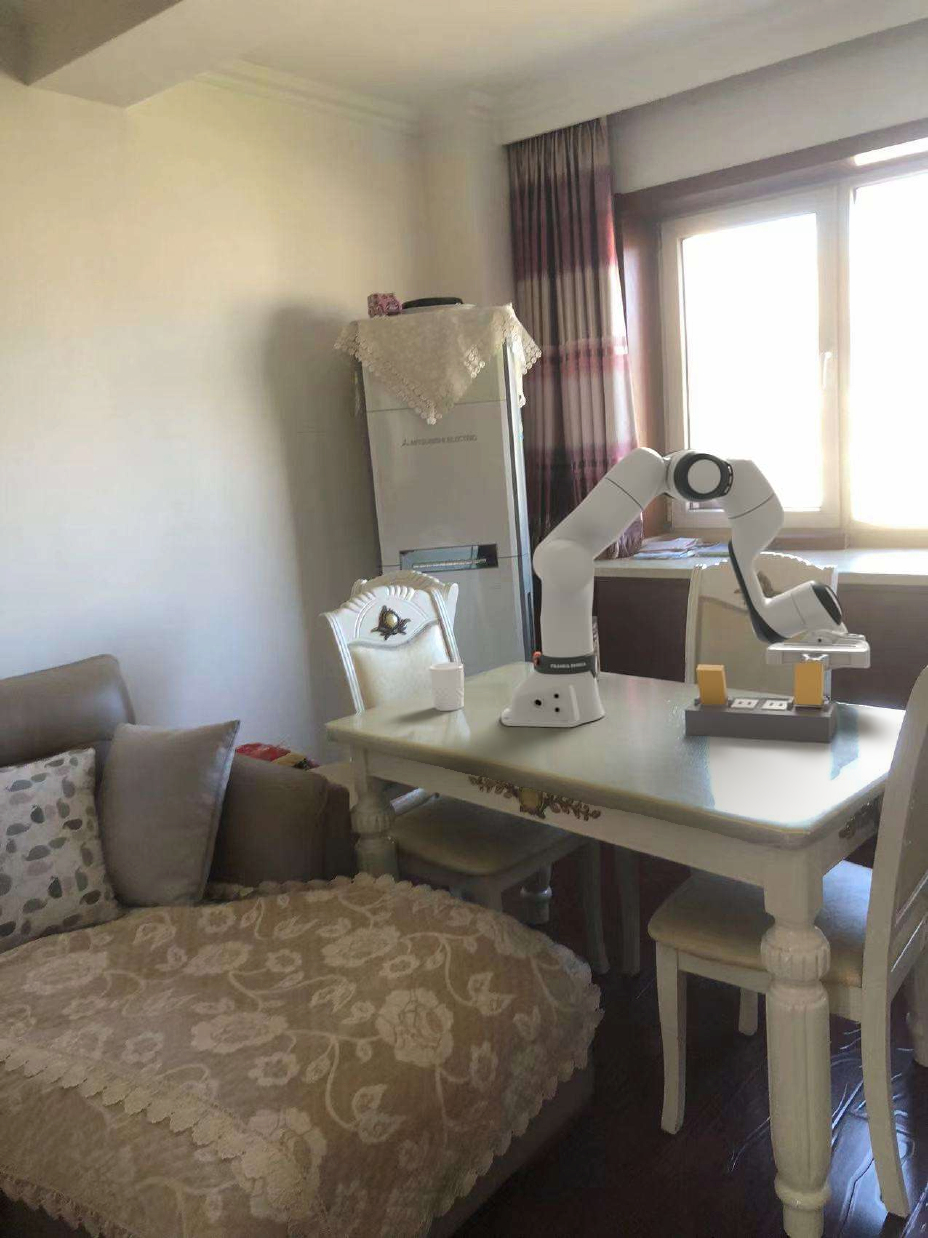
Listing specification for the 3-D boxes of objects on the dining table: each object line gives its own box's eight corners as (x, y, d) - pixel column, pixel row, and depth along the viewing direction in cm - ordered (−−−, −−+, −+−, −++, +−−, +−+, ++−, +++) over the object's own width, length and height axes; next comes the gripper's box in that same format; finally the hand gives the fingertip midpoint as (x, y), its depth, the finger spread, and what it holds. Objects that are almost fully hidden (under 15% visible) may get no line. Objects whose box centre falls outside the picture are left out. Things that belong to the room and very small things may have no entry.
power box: (685, 734, 197) (684, 704, 196) (700, 718, 208) (699, 689, 207) (829, 743, 185) (829, 710, 184) (837, 725, 196) (836, 694, 195)
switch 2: (793, 704, 192) (795, 662, 193) (795, 704, 194) (796, 664, 195) (821, 705, 190) (822, 663, 191) (822, 706, 191) (823, 664, 193)
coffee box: (594, 687, 241) (590, 622, 238) (568, 687, 243) (564, 622, 240) (601, 678, 249) (598, 615, 247) (576, 678, 251) (572, 615, 249)
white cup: (430, 712, 229) (426, 670, 228) (435, 703, 237) (432, 663, 235) (464, 711, 228) (461, 668, 227) (468, 702, 236) (465, 661, 234)
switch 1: (700, 703, 200) (696, 669, 197) (703, 697, 202) (698, 664, 198) (726, 704, 198) (721, 670, 194) (727, 698, 199) (723, 665, 196)
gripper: (770, 633, 214) (758, 646, 202) (873, 635, 205) (867, 649, 193) (771, 662, 215) (759, 677, 203) (873, 665, 206) (867, 681, 194)
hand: (812, 663), depth 198 cm, fingers closed
